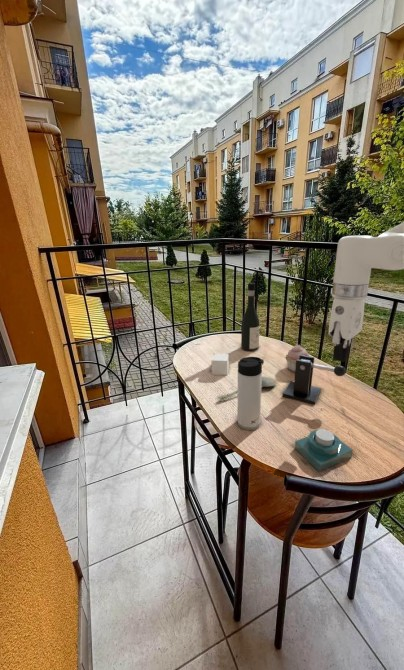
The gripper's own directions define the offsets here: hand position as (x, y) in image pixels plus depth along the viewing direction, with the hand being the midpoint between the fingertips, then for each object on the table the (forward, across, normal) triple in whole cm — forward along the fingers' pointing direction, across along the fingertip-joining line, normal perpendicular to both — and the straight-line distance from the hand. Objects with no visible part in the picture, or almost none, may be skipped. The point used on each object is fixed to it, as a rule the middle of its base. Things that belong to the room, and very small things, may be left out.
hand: (340, 359), depth 73 cm
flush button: (+15, -14, -4) cm, 21 cm away
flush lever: (+9, +7, +7) cm, 14 cm away
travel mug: (+18, -18, +16) cm, 30 cm away
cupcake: (+19, +21, +22) cm, 36 cm away
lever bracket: (+18, +6, +12) cm, 23 cm away
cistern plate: (+18, -14, -4) cm, 24 cm away
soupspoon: (+19, -5, +26) cm, 33 cm away
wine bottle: (+18, +26, +48) cm, 57 cm away
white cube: (+18, 0, +43) cm, 47 cm away
